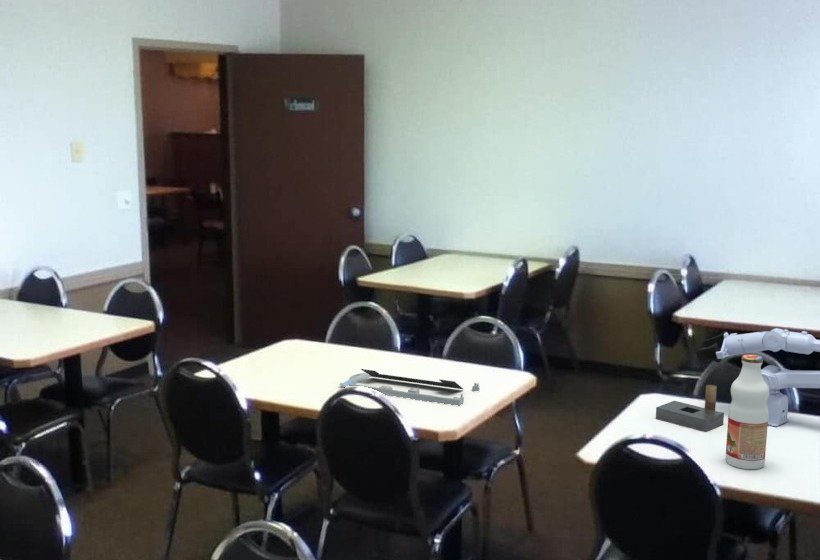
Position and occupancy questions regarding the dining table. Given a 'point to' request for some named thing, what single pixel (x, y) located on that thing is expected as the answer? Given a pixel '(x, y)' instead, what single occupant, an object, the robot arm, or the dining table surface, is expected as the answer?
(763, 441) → the fruit juice
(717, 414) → the block with square hole
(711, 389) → the peg
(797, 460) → the dining table surface
